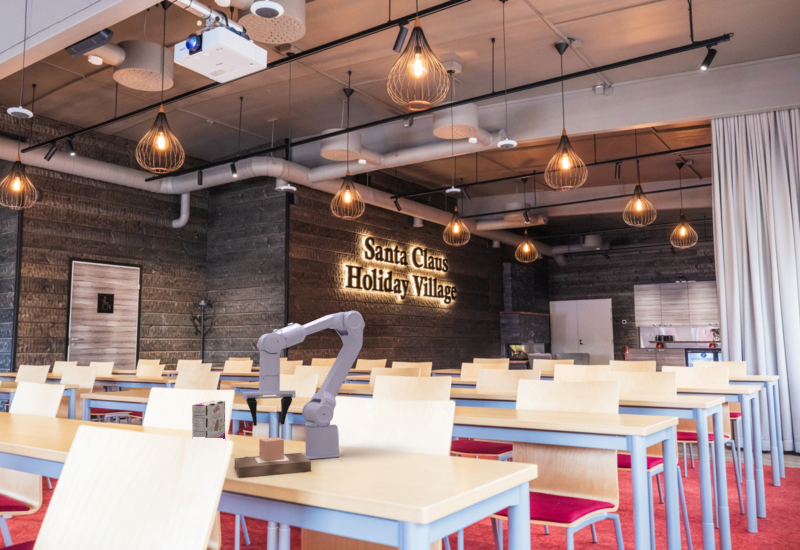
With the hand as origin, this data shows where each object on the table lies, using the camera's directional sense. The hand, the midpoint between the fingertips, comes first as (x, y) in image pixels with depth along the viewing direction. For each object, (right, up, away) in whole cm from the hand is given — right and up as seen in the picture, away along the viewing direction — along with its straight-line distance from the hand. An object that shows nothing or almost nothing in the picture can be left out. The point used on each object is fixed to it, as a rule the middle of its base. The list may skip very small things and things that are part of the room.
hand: (268, 424), depth 174 cm
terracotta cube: (+3, -7, -10) cm, 13 cm away
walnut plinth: (+3, -9, -11) cm, 15 cm away
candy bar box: (-19, -12, +6) cm, 23 cm away
